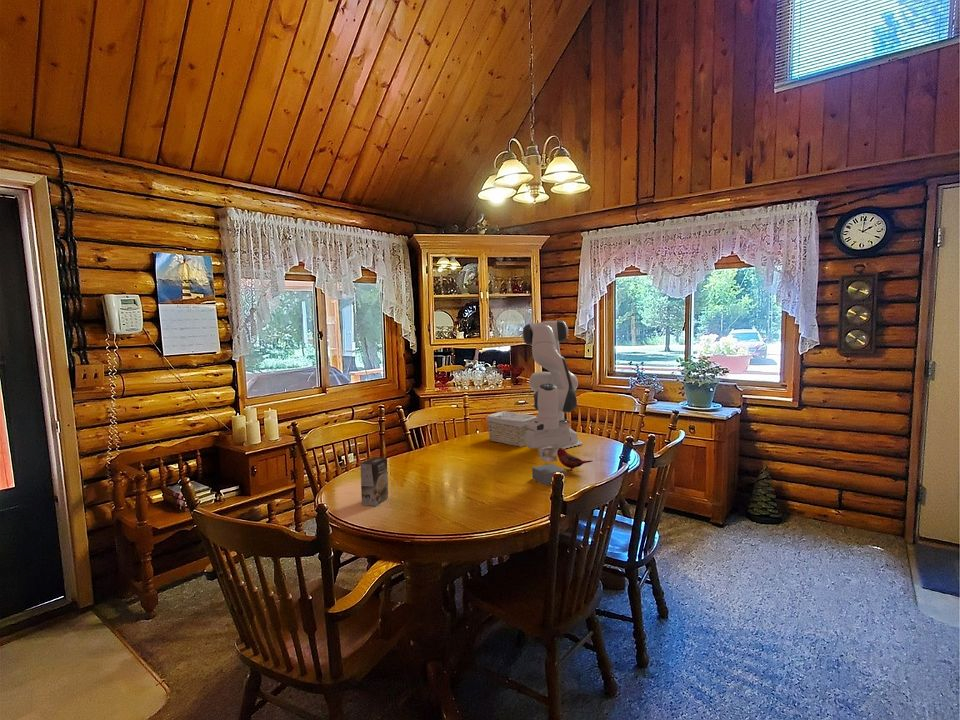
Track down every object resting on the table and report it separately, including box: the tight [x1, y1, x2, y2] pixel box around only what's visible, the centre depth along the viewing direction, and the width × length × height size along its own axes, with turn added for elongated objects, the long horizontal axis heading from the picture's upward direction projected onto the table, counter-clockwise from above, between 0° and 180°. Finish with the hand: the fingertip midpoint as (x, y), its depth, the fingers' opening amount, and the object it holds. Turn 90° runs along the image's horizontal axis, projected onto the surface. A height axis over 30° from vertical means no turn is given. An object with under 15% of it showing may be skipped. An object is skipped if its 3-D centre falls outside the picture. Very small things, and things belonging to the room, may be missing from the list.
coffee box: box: [359, 456, 389, 507], centre depth 193 cm, size 9×6×16 cm
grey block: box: [531, 463, 566, 486], centre depth 214 cm, size 10×10×5 cm
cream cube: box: [539, 446, 558, 463], centre depth 213 cm, size 5×5×5 cm
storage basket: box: [486, 410, 538, 448], centre depth 277 cm, size 24×16×15 cm
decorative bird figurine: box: [557, 448, 593, 472], centre depth 224 cm, size 3×18×10 cm, turn 59°
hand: (548, 455), depth 213 cm, fingers closed on cream cube, 5 cm apart
